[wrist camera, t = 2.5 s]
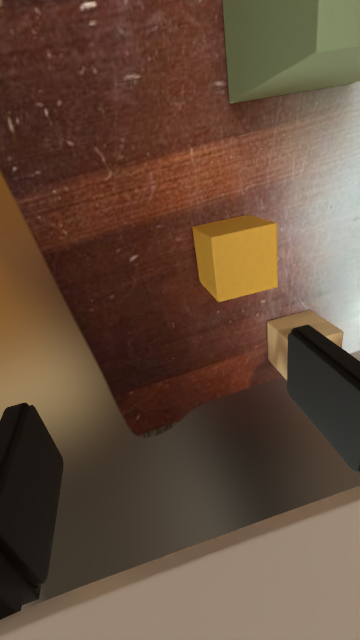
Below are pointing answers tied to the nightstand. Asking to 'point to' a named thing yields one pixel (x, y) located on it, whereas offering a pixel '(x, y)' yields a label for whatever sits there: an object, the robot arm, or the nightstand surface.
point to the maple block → (283, 327)
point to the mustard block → (236, 256)
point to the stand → (290, 46)
